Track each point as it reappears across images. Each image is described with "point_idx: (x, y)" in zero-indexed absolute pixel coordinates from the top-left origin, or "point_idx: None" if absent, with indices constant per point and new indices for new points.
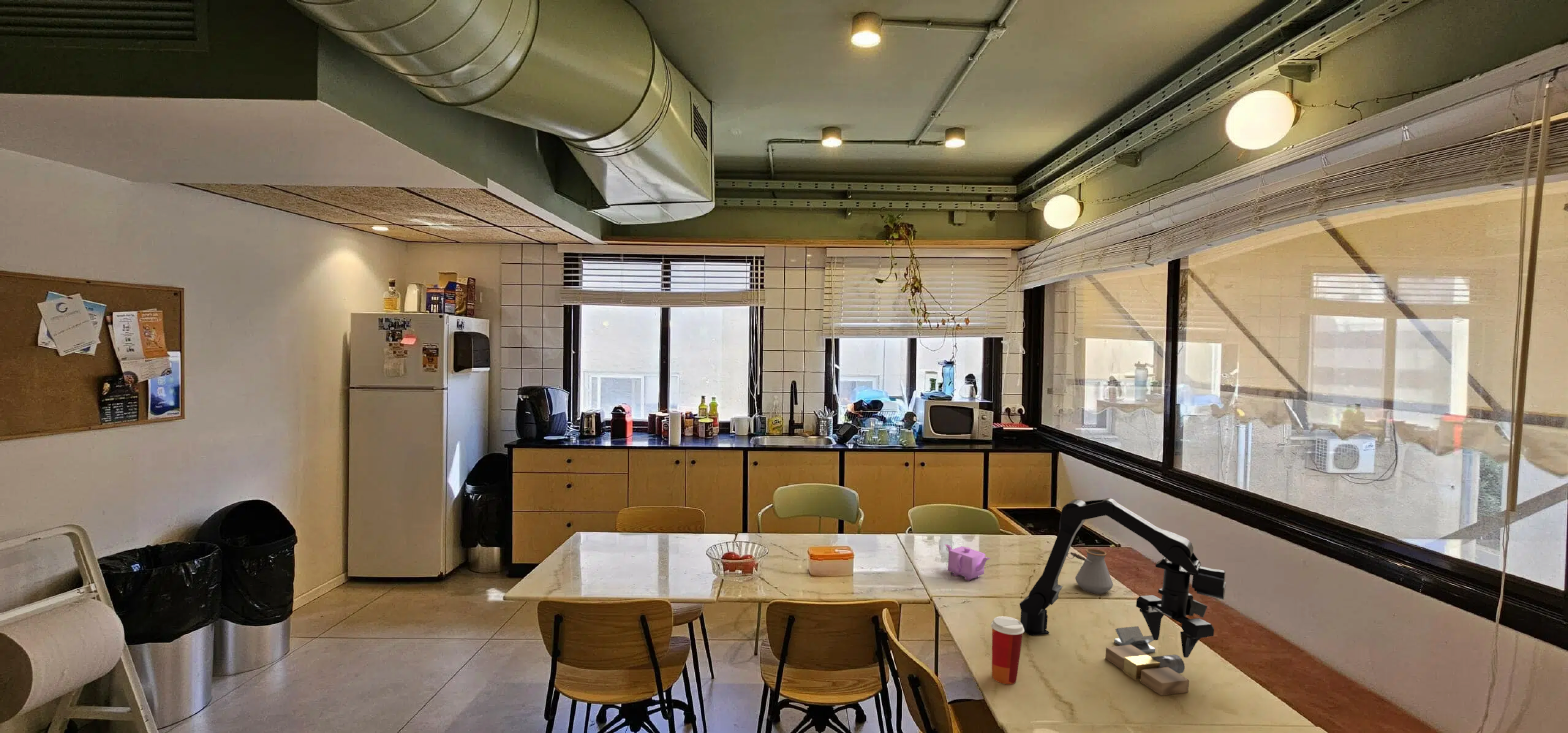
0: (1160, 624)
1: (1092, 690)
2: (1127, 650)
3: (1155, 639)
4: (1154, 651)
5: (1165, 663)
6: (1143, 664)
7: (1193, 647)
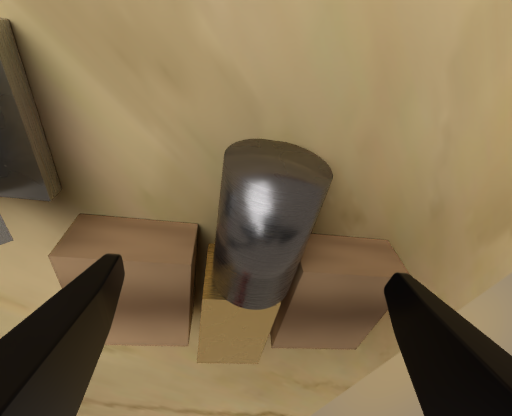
0: (5, 405)
1: (250, 384)
2: (119, 305)
3: (123, 279)
4: (6, 27)
5: (291, 281)
6: (262, 348)
7: (502, 352)
